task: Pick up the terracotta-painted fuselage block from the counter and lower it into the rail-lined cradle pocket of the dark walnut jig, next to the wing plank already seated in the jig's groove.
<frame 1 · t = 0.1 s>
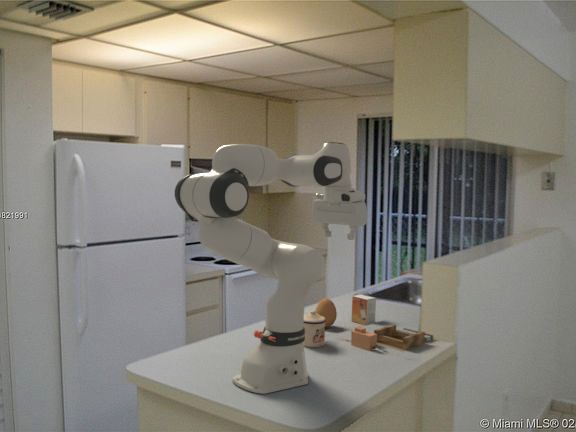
hand: (339, 238, 173), 39 cm above the counter, tool pointing down, fingers open, 8 cm apart
wing plank: (414, 337, 197), point 1 cm above the counter, touching jig
jig: (403, 344, 192), on the counter
fuselage block: (363, 346, 188), on the counter
egg: (325, 327, 212), on the counter
teacup with lid: (314, 343, 192), on the counter
small box: (363, 323, 220), on the counter
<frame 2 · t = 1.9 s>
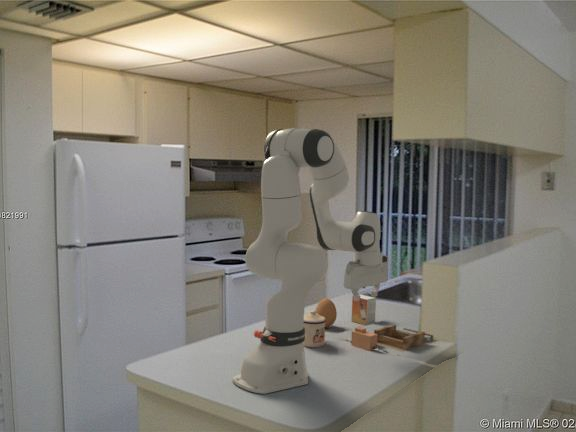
hand: (365, 298, 188), 17 cm above the counter, tool pointing down, fingers open, 8 cm apart
nothing on the counter moved.
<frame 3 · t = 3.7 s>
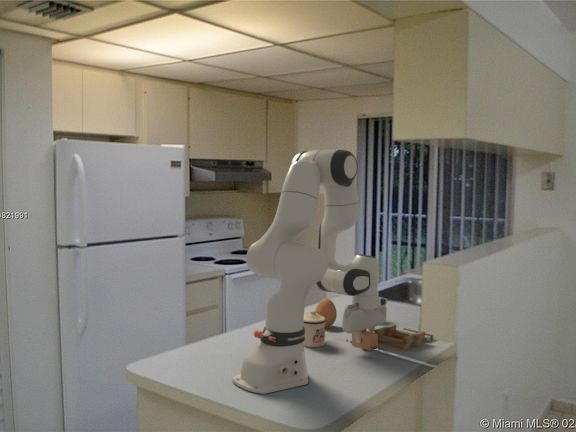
hand: (363, 341, 188), 2 cm above the counter, tool pointing down, fingers closed on fuselage block, 4 cm apart
fuselage block: (364, 346, 188), on the counter, touching gripper
everything else where it was.
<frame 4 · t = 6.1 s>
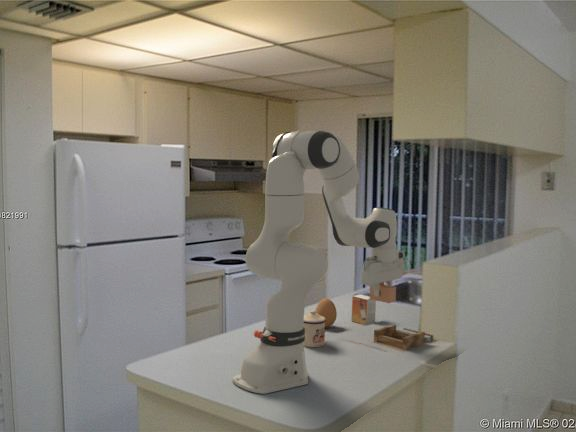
hand: (382, 294, 188), 18 cm above the counter, tool pointing down, fingers closed on fuselage block, 4 cm apart
fuselage block: (382, 300, 188), point 16 cm above the counter, touching gripper
everything else where it was.
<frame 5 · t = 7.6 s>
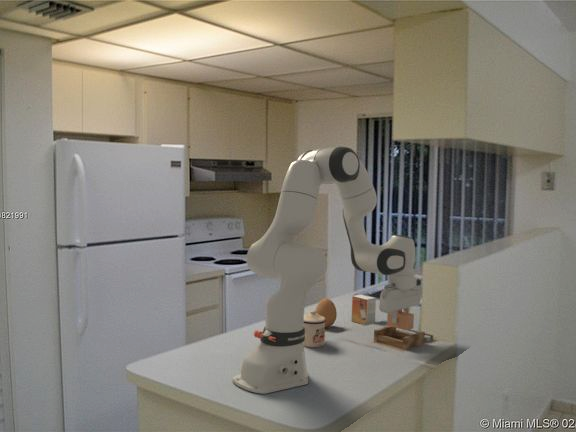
hand: (399, 321, 190), 9 cm above the counter, tool pointing down, fingers closed on fuselage block, 4 cm apart
fuselage block: (400, 326, 189), point 7 cm above the counter, touching gripper
everything else where it was.
when the fingers open (5 cm above the counter, at t = 8.7 s): fuselage block drops 1 cm, resting on jig.
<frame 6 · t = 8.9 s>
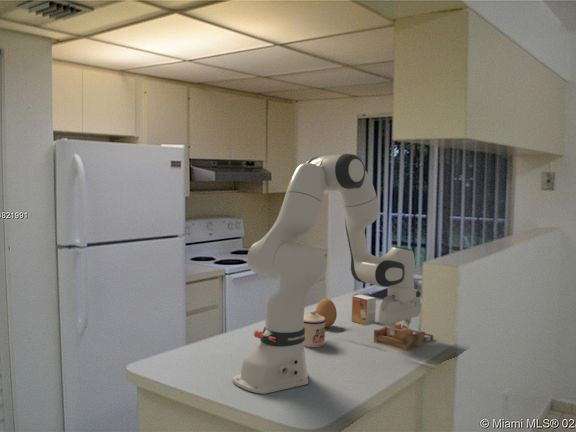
hand: (399, 332, 190), 5 cm above the counter, tool pointing down, fingers open, 6 cm apart
fuselage block: (399, 342, 190), point 1 cm above the counter, touching jig
everything else where it was.
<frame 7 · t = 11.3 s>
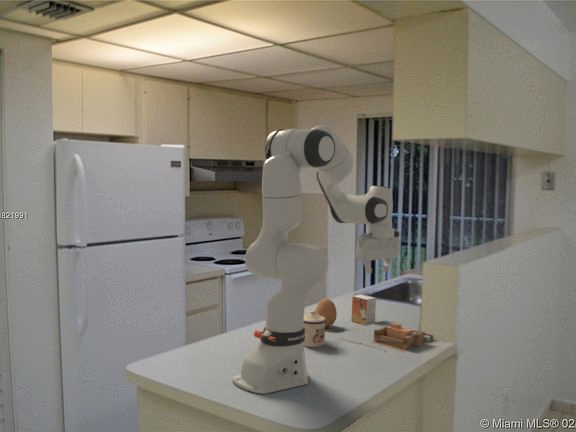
hand: (377, 272, 191), 25 cm above the counter, tool pointing down, fingers open, 8 cm apart
nothing on the counter moved.
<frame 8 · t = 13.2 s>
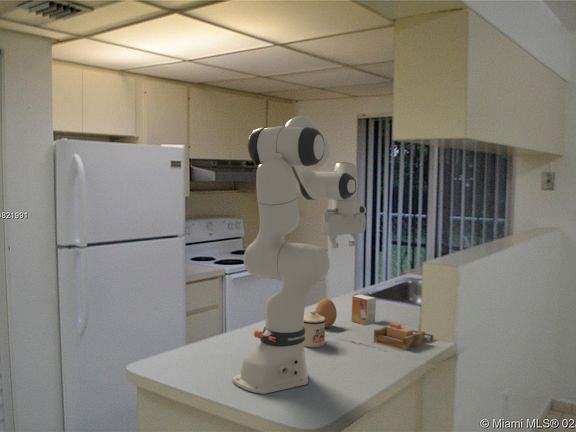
hand: (343, 246, 196), 33 cm above the counter, tool pointing down, fingers open, 8 cm apart
nothing on the counter moved.
at the end: fuselage block inside the target area on the jig (0.3 cm from its centre), point 1.2 cm above the jig's base; fuselage block tilted 0°; the gripper is holding nothing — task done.
